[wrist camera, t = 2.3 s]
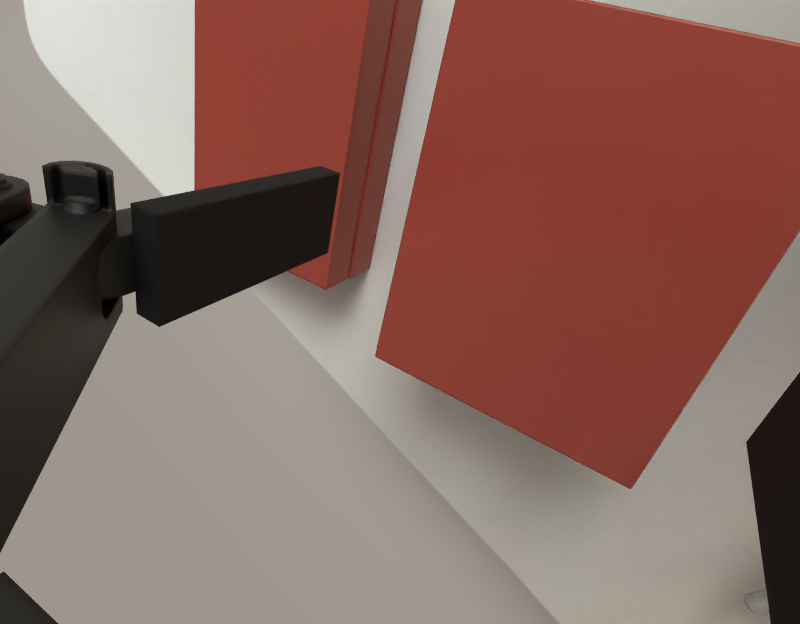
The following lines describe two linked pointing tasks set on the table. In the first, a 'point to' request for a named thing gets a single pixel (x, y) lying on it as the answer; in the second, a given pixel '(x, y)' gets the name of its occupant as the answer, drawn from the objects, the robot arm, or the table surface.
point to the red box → (305, 104)
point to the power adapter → (757, 601)
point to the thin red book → (592, 218)
